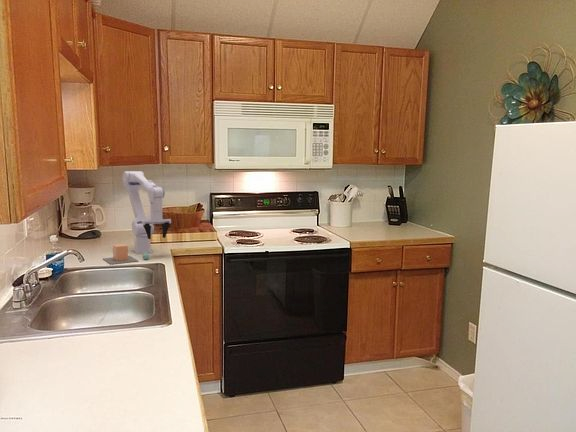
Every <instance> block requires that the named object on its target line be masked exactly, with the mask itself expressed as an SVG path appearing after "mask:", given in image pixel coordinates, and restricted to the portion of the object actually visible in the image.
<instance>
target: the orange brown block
mask: <svg viewBox="0 0 576 432" xmlns="http://www.w3.org/2000/svg"><path fill="white" fill-rule="evenodd" d="M128 256H129V246H128V245H127V244H126V243H120V244H119V243H118V244H113V245H112V257H113V259H114V260H115V261H125V260H128Z"/></svg>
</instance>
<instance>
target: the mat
mask: <svg viewBox="0 0 576 432" xmlns="http://www.w3.org/2000/svg"><path fill="white" fill-rule="evenodd" d="M102 260H103V261H105V262H106V263H107V264H109V265H111V264H112V265H119V264H128V263H135V262H139V260H138V259H136V258H134V257H133V256H132V255H128V260H125V261H115V260H114V259H113V256H112V257H105V258H102Z"/></svg>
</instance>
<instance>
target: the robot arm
mask: <svg viewBox="0 0 576 432" xmlns="http://www.w3.org/2000/svg"><path fill="white" fill-rule="evenodd" d="M121 180H122V182H123V186H124V188H125V190H127V194H128V196H129V200H130V205H131V209H132V211H133V216H134V220H133V221H132V222H131V231H132V234H133V235H134V236H135V237H134V238H133V239H134V241H133V242H134V243H133V245H134V247H133V248H134V249H132V252H134V253H136V254H137V255H143V254H144V253H148V254H153V253H154V250H153V251H152V250H151V248H152V247H151V241H152V240H151V239H152V235H153V234H154V231H155V225H160V224H161V229H162V238H164V239H165V238H166V236H167V233H168V230H169V228H170V226H171V224H172V218H163V199H164V198H165V194H166V192H165V191H166V190H165V188H164V187H163V186H158V185H157V184H155V183H154V182H153V180H152V179H147V177H145V173H144V172H143V170H142V171H141V170H138V171H137V170H136V171H135V170H132V171H131V170H129V171H127V170H125V171H124V172H123V173H122V177H121ZM141 188H142V189H143V190H144V191H145V192H146V193H147V196H148V199H149V203H150V207H149V208H150V217H147V216H146V214H145V211H144V208H143V204H142V201H141V197H140V194H139V190H140V189H141Z"/></svg>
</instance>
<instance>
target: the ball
mask: <svg viewBox="0 0 576 432" xmlns="http://www.w3.org/2000/svg"><path fill="white" fill-rule="evenodd" d="M141 257H142V259H143V260H146V261H147V260H149V258H150V253H144V254H142V256H141Z"/></svg>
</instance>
